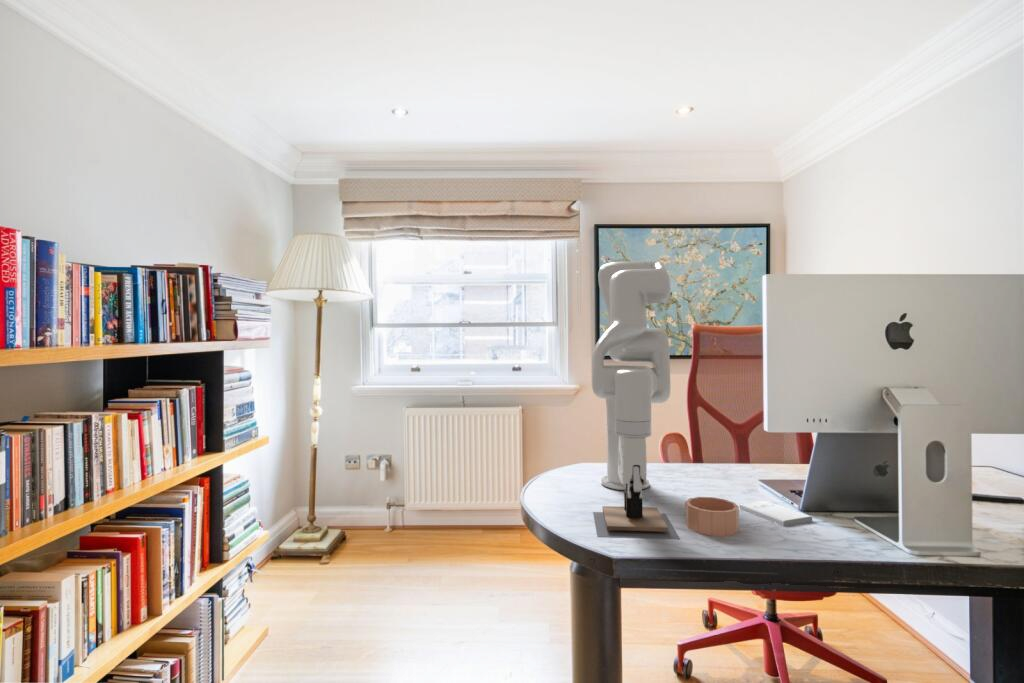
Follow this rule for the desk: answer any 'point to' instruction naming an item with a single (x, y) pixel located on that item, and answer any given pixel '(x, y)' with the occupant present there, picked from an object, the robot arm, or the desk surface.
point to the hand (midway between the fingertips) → (633, 513)
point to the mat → (604, 532)
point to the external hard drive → (775, 512)
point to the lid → (634, 519)
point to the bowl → (712, 516)
